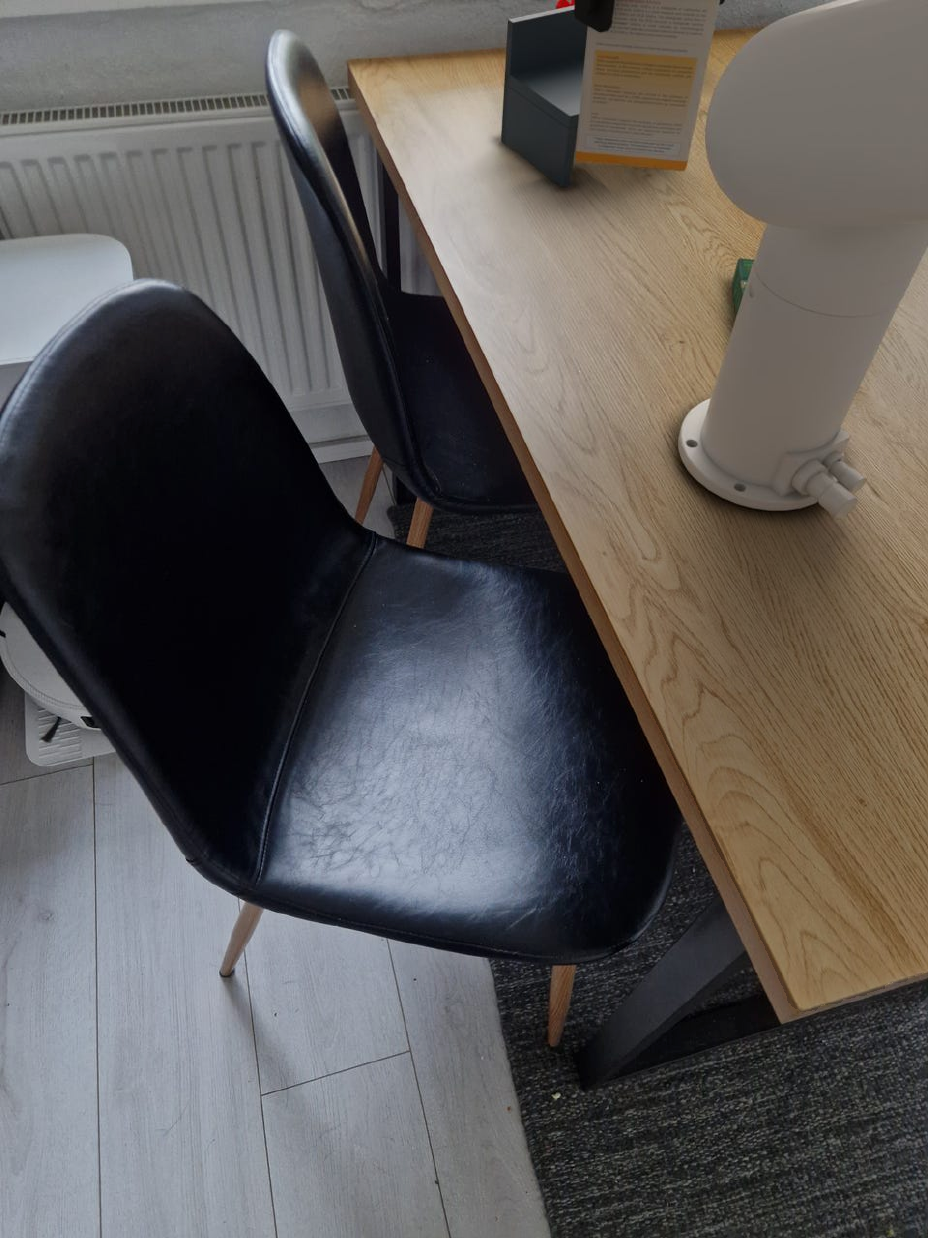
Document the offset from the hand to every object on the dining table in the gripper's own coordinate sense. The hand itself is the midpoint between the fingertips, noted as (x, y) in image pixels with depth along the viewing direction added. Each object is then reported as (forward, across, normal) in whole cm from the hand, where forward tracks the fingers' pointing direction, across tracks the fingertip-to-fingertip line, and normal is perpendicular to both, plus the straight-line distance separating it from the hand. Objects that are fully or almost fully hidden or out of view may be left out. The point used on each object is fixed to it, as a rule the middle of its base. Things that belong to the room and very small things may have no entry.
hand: (649, 11), depth 58 cm
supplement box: (+9, 0, 0) cm, 9 cm away
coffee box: (+23, +19, -2) cm, 30 cm away
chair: (+25, +20, +29) cm, 43 cm away
